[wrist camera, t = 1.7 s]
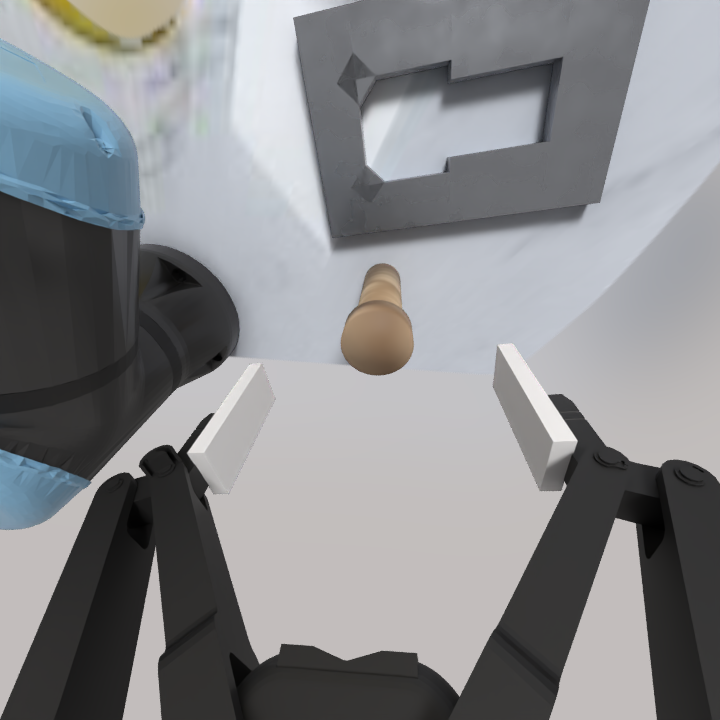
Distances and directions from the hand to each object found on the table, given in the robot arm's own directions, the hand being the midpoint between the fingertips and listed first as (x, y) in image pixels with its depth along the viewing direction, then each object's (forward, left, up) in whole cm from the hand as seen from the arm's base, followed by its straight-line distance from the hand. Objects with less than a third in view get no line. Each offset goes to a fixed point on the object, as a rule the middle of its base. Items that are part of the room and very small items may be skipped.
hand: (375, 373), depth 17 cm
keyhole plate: (+7, +12, -16) cm, 21 cm away
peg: (0, 0, -16) cm, 16 cm away
